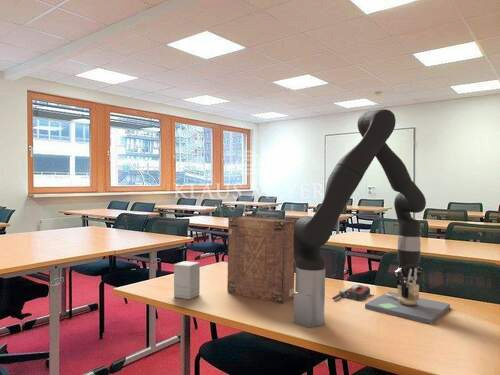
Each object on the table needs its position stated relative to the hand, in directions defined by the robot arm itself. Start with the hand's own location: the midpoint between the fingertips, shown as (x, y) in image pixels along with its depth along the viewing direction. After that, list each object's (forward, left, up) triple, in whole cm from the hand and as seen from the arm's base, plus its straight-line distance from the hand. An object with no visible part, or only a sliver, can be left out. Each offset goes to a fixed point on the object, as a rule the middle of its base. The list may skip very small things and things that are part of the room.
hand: (408, 296), depth 133 cm
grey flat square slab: (0, 0, -4) cm, 4 cm away
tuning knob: (+1, +3, -2) cm, 4 cm away
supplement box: (-46, +67, -4) cm, 81 cm away
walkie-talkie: (-2, +21, -5) cm, 21 cm away
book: (-25, +48, -4) cm, 54 cm away
